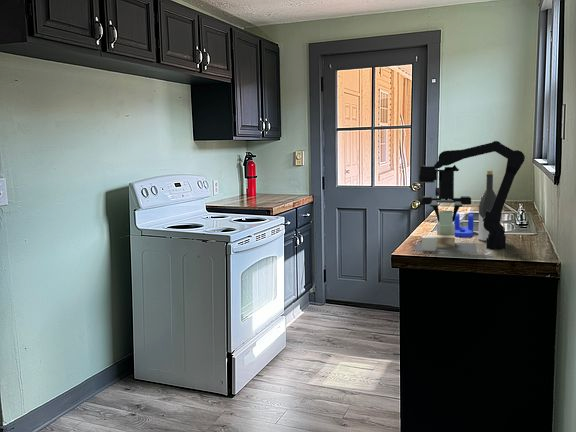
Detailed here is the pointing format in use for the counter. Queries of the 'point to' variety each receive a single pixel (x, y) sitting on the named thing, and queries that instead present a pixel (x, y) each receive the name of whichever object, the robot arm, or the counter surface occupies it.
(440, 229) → the mat
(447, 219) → the sage cube
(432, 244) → the cream cube
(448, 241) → the oak base block
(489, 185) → the wine bottle
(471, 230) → the bracket
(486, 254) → the counter surface
